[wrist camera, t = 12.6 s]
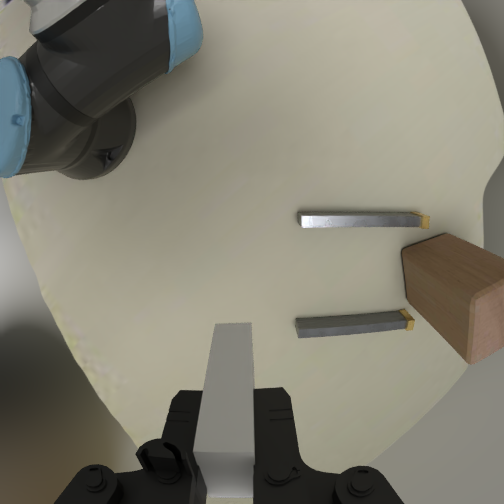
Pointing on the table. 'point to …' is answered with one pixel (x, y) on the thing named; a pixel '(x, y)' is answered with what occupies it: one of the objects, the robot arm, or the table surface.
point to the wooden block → (458, 293)
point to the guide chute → (360, 321)
